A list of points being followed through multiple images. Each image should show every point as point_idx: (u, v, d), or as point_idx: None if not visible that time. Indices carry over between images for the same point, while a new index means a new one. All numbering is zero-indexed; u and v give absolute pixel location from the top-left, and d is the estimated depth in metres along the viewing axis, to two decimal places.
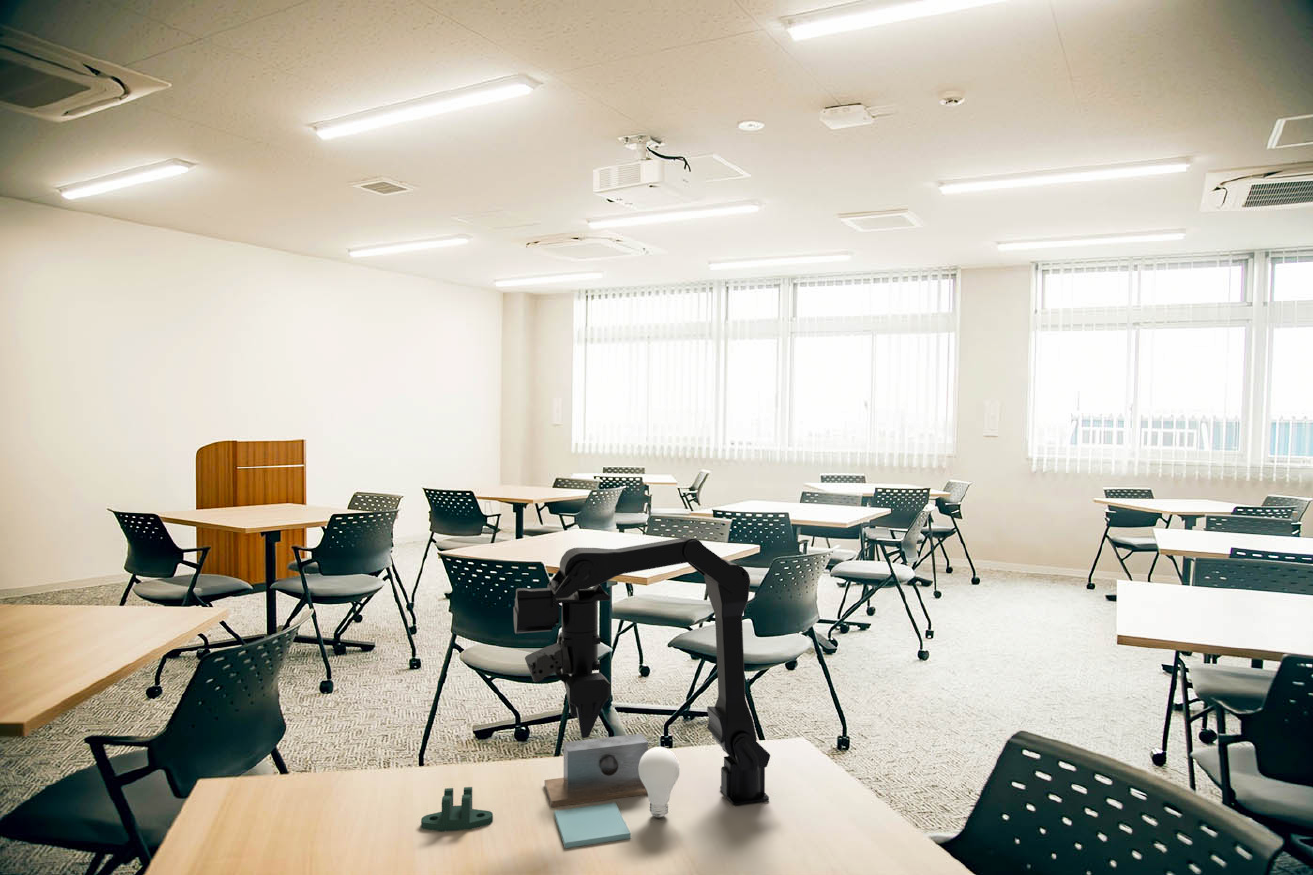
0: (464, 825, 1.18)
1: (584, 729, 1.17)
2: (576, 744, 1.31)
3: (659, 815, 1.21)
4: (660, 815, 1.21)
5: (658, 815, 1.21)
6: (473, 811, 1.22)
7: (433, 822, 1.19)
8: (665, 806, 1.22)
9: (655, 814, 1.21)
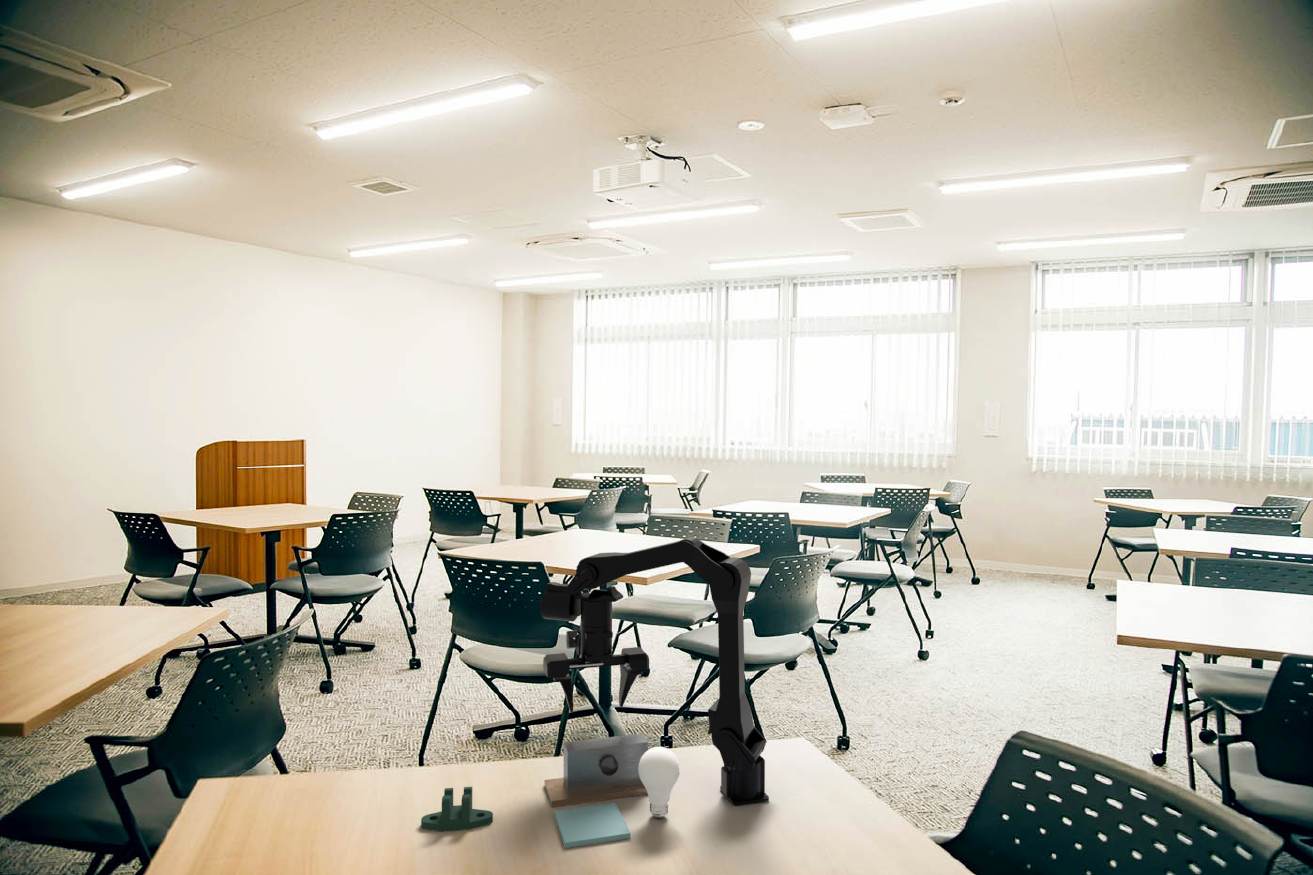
0: (464, 825, 1.18)
1: None
2: (576, 744, 1.31)
3: (659, 815, 1.21)
4: (660, 815, 1.21)
5: (658, 815, 1.21)
6: (473, 811, 1.22)
7: (433, 822, 1.19)
8: (665, 806, 1.22)
9: (655, 814, 1.21)
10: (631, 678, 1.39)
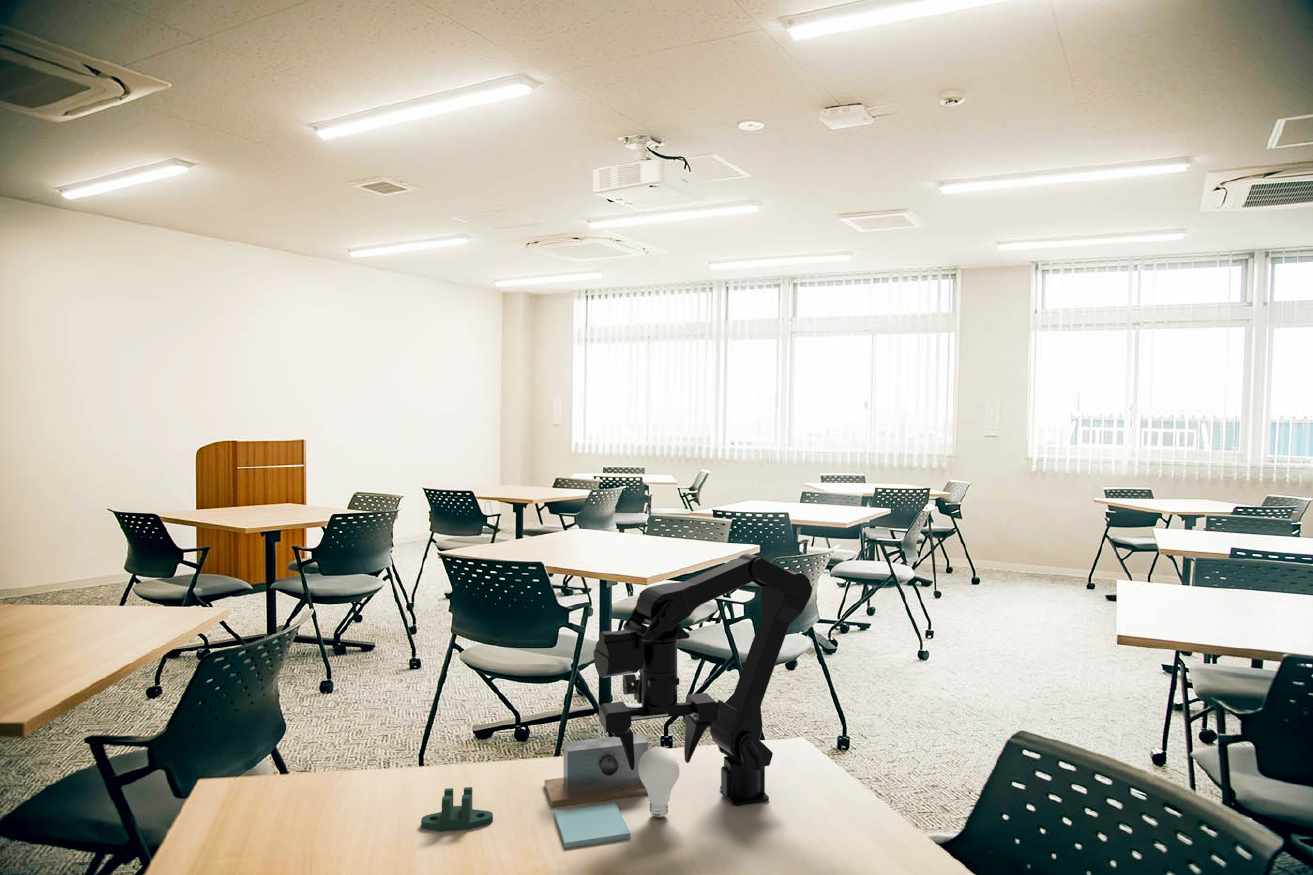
0: (464, 825, 1.18)
1: (627, 759, 1.21)
2: (576, 744, 1.31)
3: (659, 815, 1.21)
4: (660, 815, 1.21)
5: (658, 815, 1.21)
6: (473, 811, 1.22)
7: (433, 822, 1.19)
8: (665, 806, 1.22)
9: (655, 814, 1.21)
10: (700, 731, 1.22)
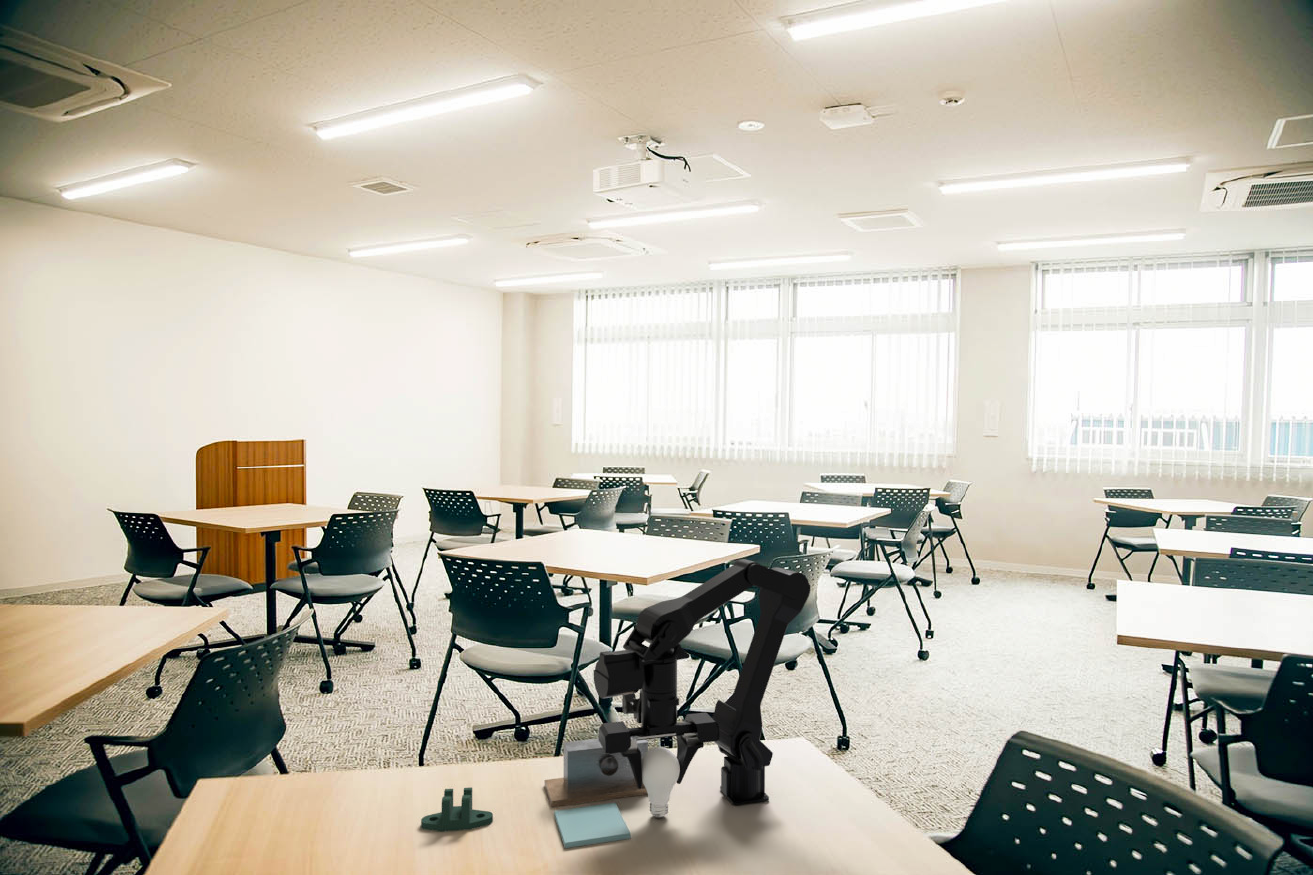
0: (464, 825, 1.18)
1: (635, 778, 1.22)
2: (576, 744, 1.31)
3: (659, 815, 1.21)
4: (660, 815, 1.21)
5: (658, 815, 1.21)
6: (473, 811, 1.22)
7: (433, 823, 1.19)
8: (665, 806, 1.22)
9: (655, 814, 1.21)
10: (691, 752, 1.21)
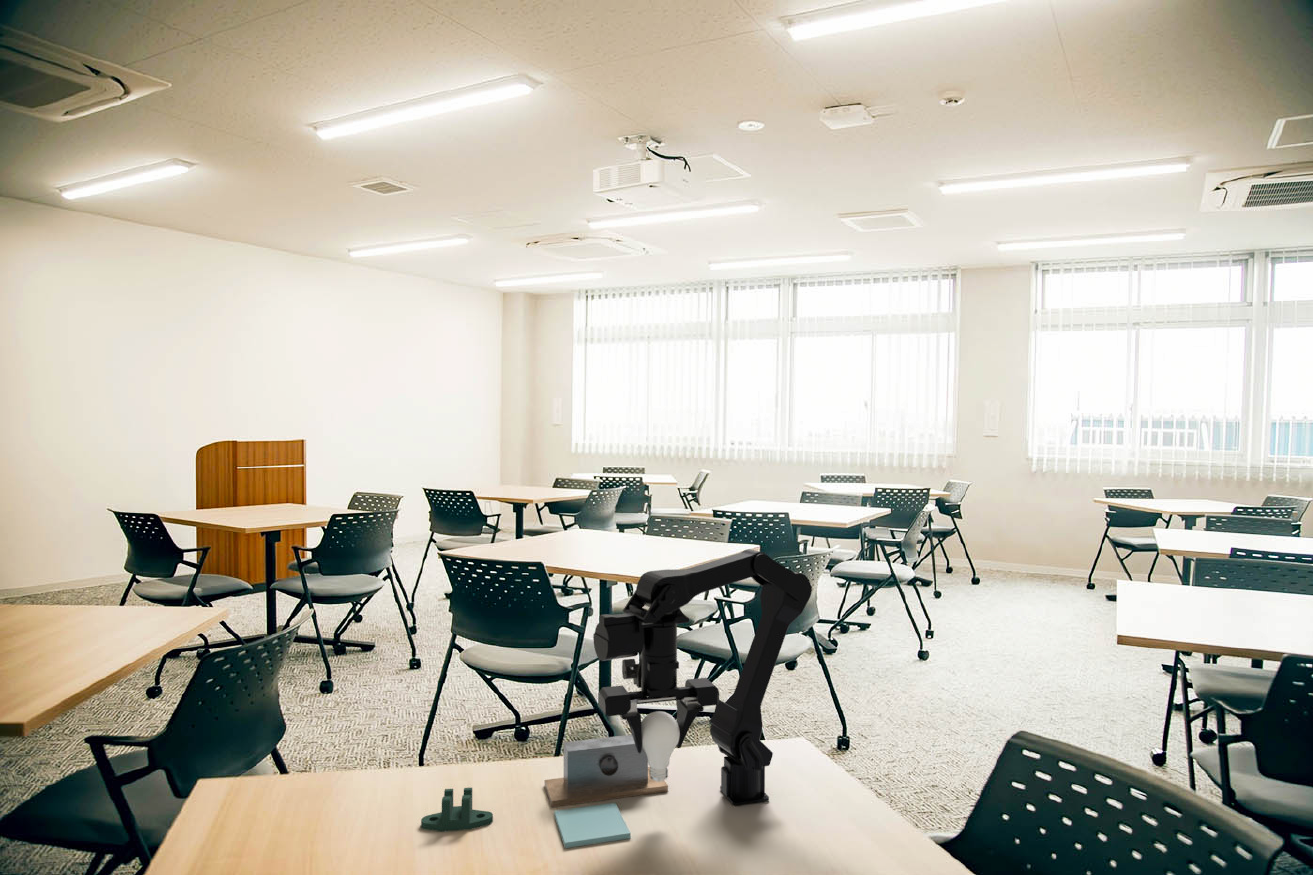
0: (464, 826, 1.18)
1: (635, 742, 1.22)
2: (576, 744, 1.31)
3: (659, 779, 1.21)
4: (660, 779, 1.21)
5: (658, 779, 1.21)
6: (473, 812, 1.22)
7: (433, 823, 1.19)
8: (665, 770, 1.22)
9: (655, 778, 1.21)
10: (691, 716, 1.21)
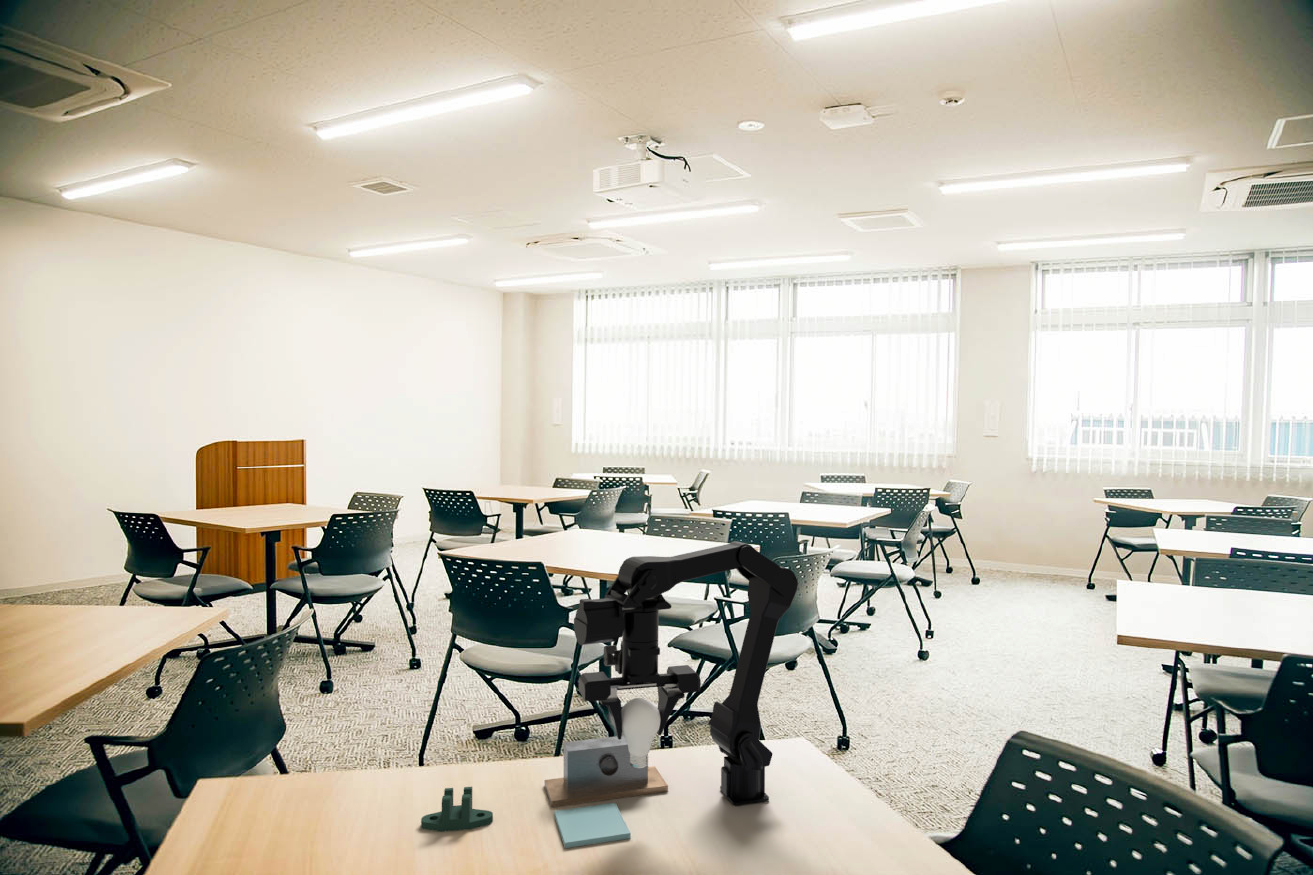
0: (464, 825, 1.18)
1: (615, 729, 1.21)
2: (576, 744, 1.31)
3: (639, 766, 1.20)
4: (640, 766, 1.20)
5: (638, 766, 1.20)
6: (473, 811, 1.22)
7: (433, 822, 1.19)
8: (645, 757, 1.21)
9: (635, 765, 1.20)
10: (672, 702, 1.20)
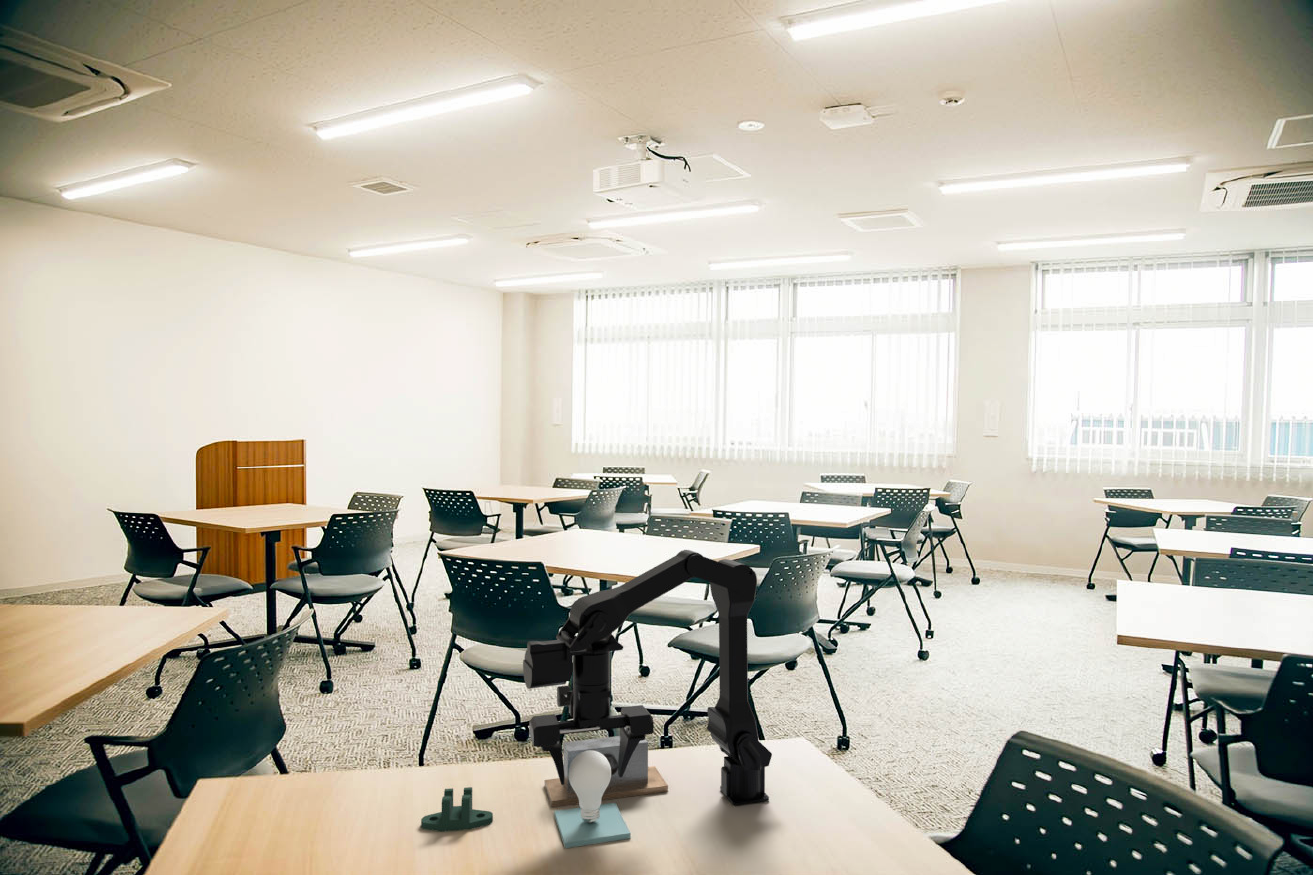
0: (464, 825, 1.18)
1: (558, 774, 1.18)
2: (576, 744, 1.31)
3: (590, 820, 1.18)
4: (591, 820, 1.18)
5: (589, 820, 1.18)
6: (473, 811, 1.22)
7: (433, 823, 1.19)
8: (596, 811, 1.18)
9: (586, 819, 1.18)
10: (632, 745, 1.19)
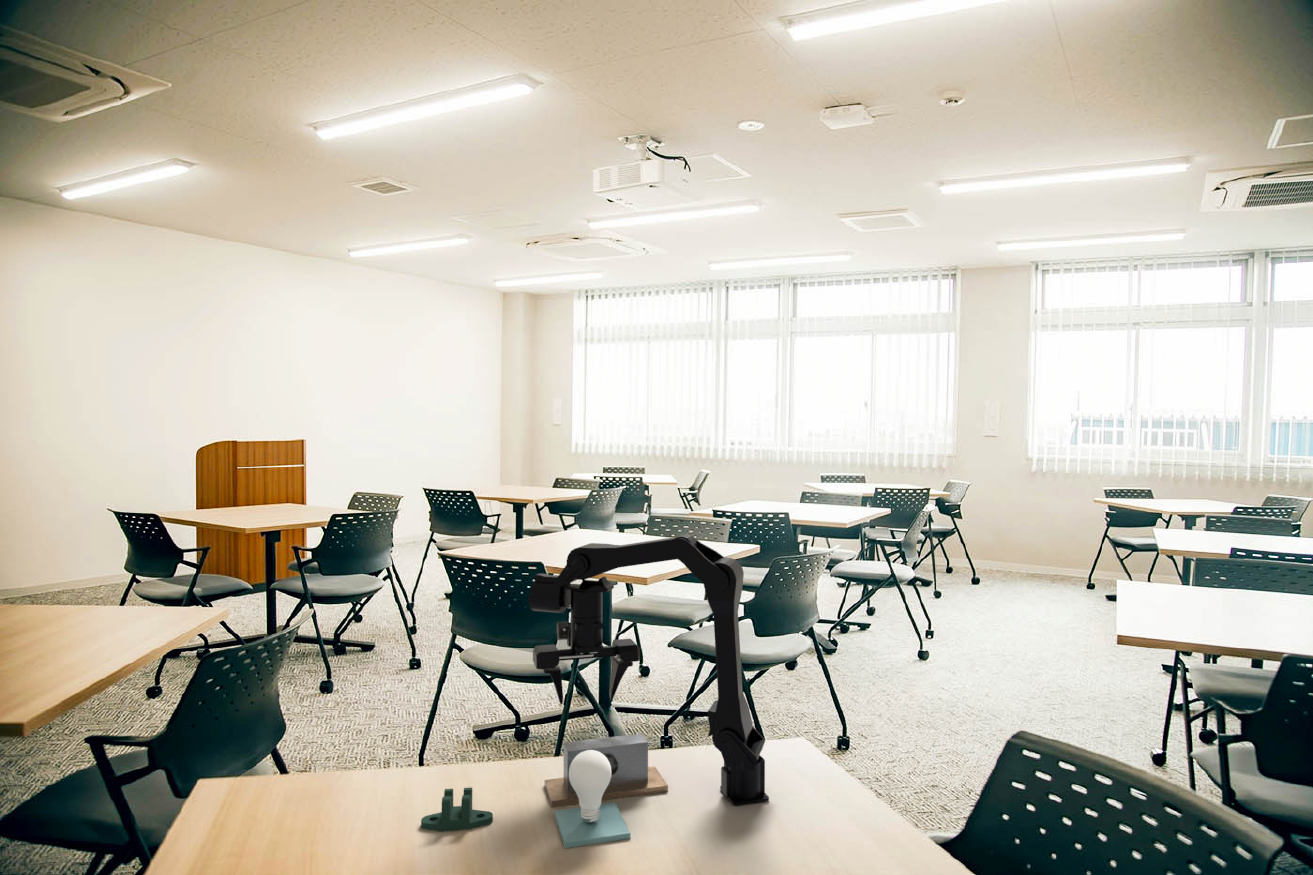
0: (464, 825, 1.18)
1: (557, 695, 1.37)
2: (576, 744, 1.31)
3: (590, 820, 1.18)
4: (591, 820, 1.18)
5: (589, 820, 1.18)
6: (473, 812, 1.22)
7: (433, 823, 1.19)
8: (596, 811, 1.18)
9: (586, 819, 1.18)
10: (621, 670, 1.38)
